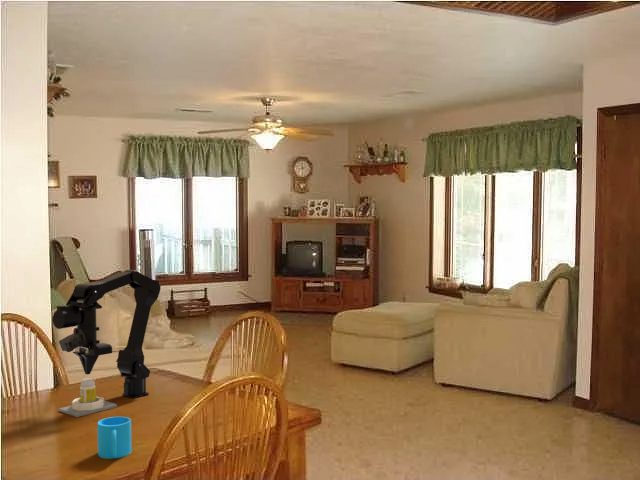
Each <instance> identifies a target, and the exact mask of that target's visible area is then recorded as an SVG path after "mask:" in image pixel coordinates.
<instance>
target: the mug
mask: <svg viewBox="0 0 640 480" xmlns="http://www.w3.org/2000/svg"><path fill="white" fill-rule="evenodd" d="M128 454H129V455H130V454H132V419H131V418H130V417H127V416H112V417H111V416H110V417H106V418H101V419H100V420H98V422H97V455H98V457H100V458H102V459H118V458H123V457H124V458H125V457H127V456H129V455H128Z"/></svg>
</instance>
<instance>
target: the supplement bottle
mask: <svg viewBox="0 0 640 480" xmlns="http://www.w3.org/2000/svg"><path fill="white" fill-rule="evenodd" d="M95 383H96V382H95V378H93V377H92V378H91V377H90V378H89V377H88V378H83V379H80V387H79V398H80V403H92V402H96V396H97V387H96V385H95Z"/></svg>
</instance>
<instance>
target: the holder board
mask: <svg viewBox="0 0 640 480" xmlns="http://www.w3.org/2000/svg"><path fill="white" fill-rule="evenodd" d="M113 408H118V405H117V403H115V402H112V401H111V402H110V401H107V400H105V398H104V397H102V396H98V395H96V402H92V403H80V397H77V398H74V399H73V400H72V401H71V405H67V406H64V407H59V408H58V412H60V413H63V414H67V415H69V416H72V417H75V418H78V417H82V416H86V415H87V416H88V415H91V414H95V413H98V412H102V411H106V410H111V409H113Z"/></svg>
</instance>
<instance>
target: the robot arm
mask: <svg viewBox="0 0 640 480" xmlns="http://www.w3.org/2000/svg"><path fill="white" fill-rule="evenodd" d="M126 286H129V287H130V288H131V289H133V290H134V291H133V297H134V301H135V303H136V304H135V308H134V313H133V318H132V321H131V326H130V331H129V336H128V338H127V339H128V340H127V345H126V347H124V349H119V350H118V354H117V359H116V368H117V370H118V371H119V373H120V376H121V377H122V378H123V377H124V382H123V393H122V394H121V395H122V396H124V397H127V398H131V399H136V398H139V397H144V396H148V395H149V394H150V393H149V392H147V387H146V386H147V382H146V381H147V380H146V379H147V378H149V377H150V374H151V370H150V369H149V368H148V367H147V366H146V365H145V354H144V351H143V345H144V340H145V336H146V331H147V327H148V322H149V318H150V313H151V308H152V306H153V305H154V303H155V302H156V301H157V300H158V298H159V295H160V292H161V288H162V287H161V284H160V282H159V281H158V280H156V279H153V278H151V277H148V276H146V275H145V274H142V273H141V272H139V271H138V270H135V269H125V270H124V271H122V272H120V273H117V274H114V275H112V276H111V275H110V276H109V277H105V278H104V279H101V280H98V281H92V282H89V281H88V282H83V283H78V284H76V285H75V286H74V289H73V292H72V294H71V295H70V297H69V299H68V300H67V302H66V303H65V305H57V306H56V310H55V311H54V313H53V316H52V319H51V320H52V323H53V326H54V328H56V329H57V330H61V329H66V328H73V327H74V329H73V331H72V334H69V335H67V336H66V337H63V338H62V339H60V340H59V341H58V343H59V346H60V349H61V350H62V351H61V352H67V353H71V352H72V353H73V355H75V356H77V357H78V358H79V361H80V363H81V365H82V369H83V372H84V374H85V375H91V373H92V371H93V368H94V366H95V364H96V362H97V360H98V358H99V357H100V356H103V355H109V354H112V353H113V346H112V345H111V344H110V343H104V342H100V339H98V337H97V336H98V335H97V334H98V333H97V332H99V331H100V326H97V310H98V309H99V310H100V309H103V306H102V305H101V304H100V303H98V301H99V300H101V299H103V298H104V296H105V295H106V294H107V293H110V292H113V291H115V290H117V289H120V288H123V287H126Z"/></svg>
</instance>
